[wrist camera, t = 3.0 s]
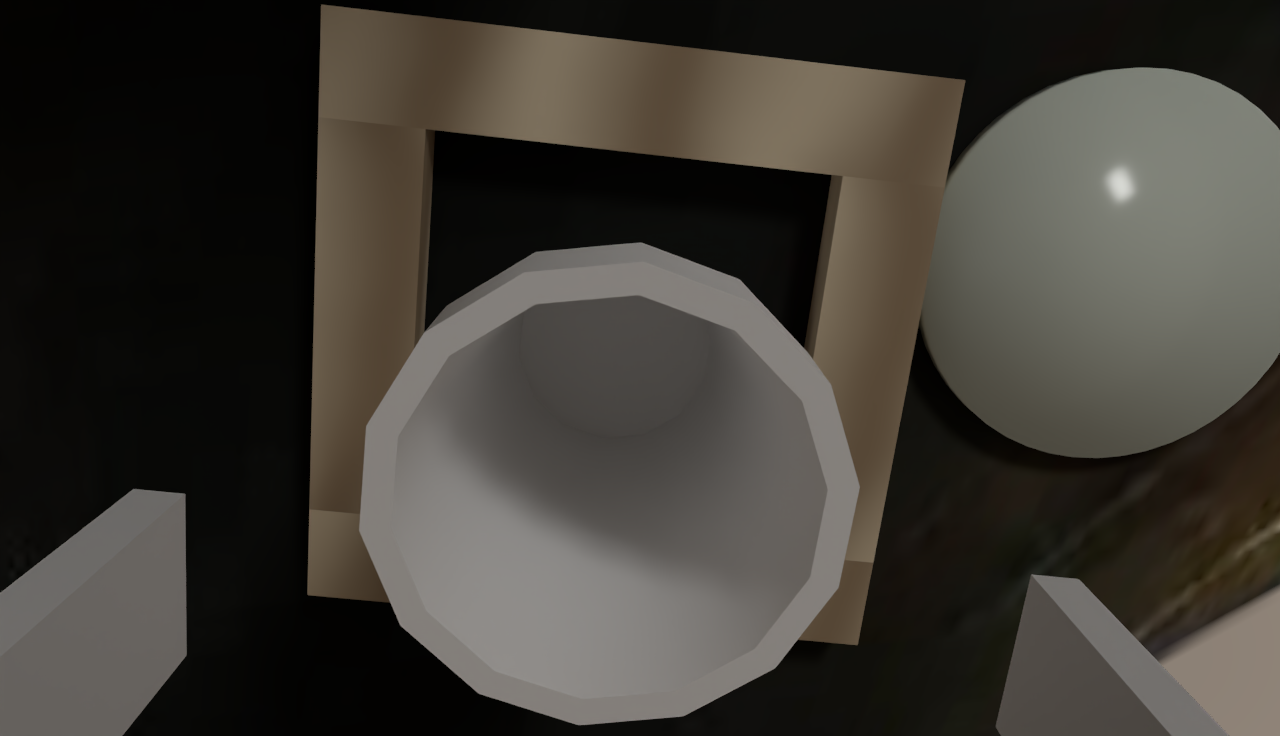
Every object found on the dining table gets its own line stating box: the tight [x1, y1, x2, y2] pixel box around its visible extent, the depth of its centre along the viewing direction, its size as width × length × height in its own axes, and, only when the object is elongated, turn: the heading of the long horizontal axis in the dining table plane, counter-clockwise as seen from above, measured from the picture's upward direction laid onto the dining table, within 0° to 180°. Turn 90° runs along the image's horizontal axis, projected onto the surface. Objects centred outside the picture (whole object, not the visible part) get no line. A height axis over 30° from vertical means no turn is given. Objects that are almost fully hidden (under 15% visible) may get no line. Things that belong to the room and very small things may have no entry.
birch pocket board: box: [307, 5, 965, 645], centre depth 30 cm, size 18×18×2 cm
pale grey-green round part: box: [919, 68, 1280, 458], centre depth 30 cm, size 12×12×1 cm
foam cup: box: [359, 243, 860, 725], centre depth 25 cm, size 10×9×13 cm
